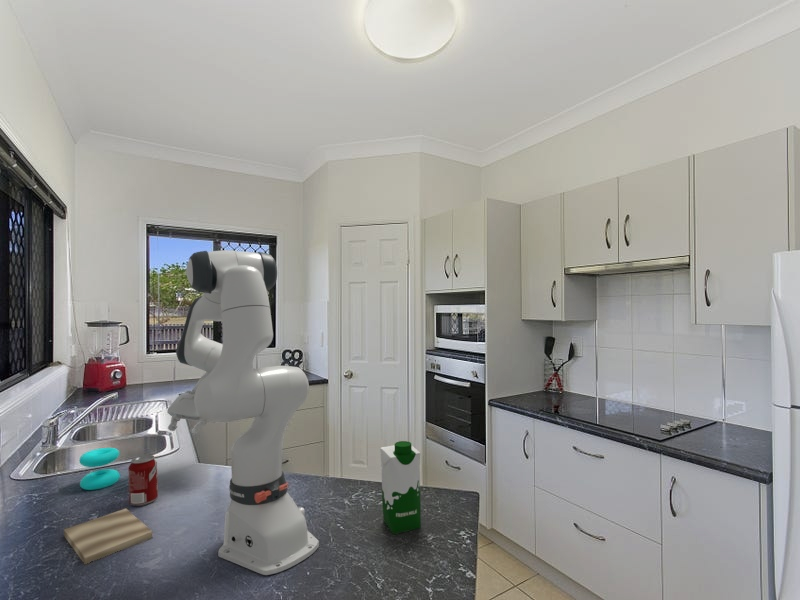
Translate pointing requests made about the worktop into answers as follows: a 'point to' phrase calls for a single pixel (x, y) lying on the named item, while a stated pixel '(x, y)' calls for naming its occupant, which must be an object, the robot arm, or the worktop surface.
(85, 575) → the worktop surface
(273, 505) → the robot arm
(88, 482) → the donuts
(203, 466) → the worktop surface
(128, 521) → the cutting board
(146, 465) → the soda can
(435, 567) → the worktop surface
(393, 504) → the milk carton
